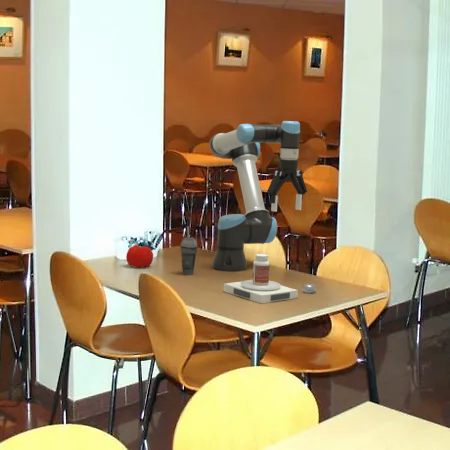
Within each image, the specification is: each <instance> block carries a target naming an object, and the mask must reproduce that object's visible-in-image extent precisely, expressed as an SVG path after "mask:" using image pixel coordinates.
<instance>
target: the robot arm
mask: <svg viewBox="0 0 450 450" xmlns="http://www.w3.org/2000/svg"><path fill="white" fill-rule="evenodd" d="M300 135H301V124H300V122H299V121H293V120H291V121H290V120H283V121H282V122H281V124H255V123H241V124H239V125H238V126H237V128H236V129H234V130H231V131H229V132H226V133H225V132H220V133H216V134H214V135H213V136H212V137H211V138H210V140H209V145H208V146H209V151H210V152H211V153H212V154H213V155H214V156H215V157H216V158H220V159H222V160H223V159H225V160H232V161H231V162H232V165H233V166H234V167H236V169H237V174H238V179H239V184H240V189H241V194H242V199H243V204H244V208H245V209H244V210H245V213H244V214H243V213H236V214H235V213H229V214H225V215H222V216H220V217H219V219H218V222H217V223H218V224H217V243H216V252H215V253H214V254H215V255H214V257H213V261H212V264H211V265H212V268H213V269H215V270H219V271H228V272H238V271H239V272H240V271H245V270H247V268H248V267H247V266H248V262H247V259H246V255H245V250H244V248H245V247H244V245H248V244H249V245H256V244H261V245H263V244H264V245H265V244H271V243H272V242H273V241H274V240H275V238H276V236H277V234H278V233H277V232H278V222H277V220H276V218H275V217H273V216H271V215H270V211H271V212H278V199H279V196H278V195H277V194H278V193H279V191H280V190H281V189H282V186H284V184H286V183H292V185H293V187H294V189H295V191H296V192H297V193H296V194H295V210H297V211H302V203H303V199H304V195H305V194H307V192H308V189H307V186H306V182H305V180H304V176H303V171H302V170H297V169H298V168H299V161H298V159H299V151H300V149H299V147H300V139H301V138H300ZM261 143H262V144H264V143H265V144H280V150H279V151H280V152H279V158H280V159H279V169H280V171H279V170H274V171H273V177H272V179H271V181H270V183H269V186H268V188H267V191H266V193H267V194H269V196H270V203H271V204H270V205H271V210H270V211H269V210H267V209H266V207H265V203H264V198H263V194H262V193H263V192H262V189H261V185H260V180H259V175H258V171H257V165H256V163H257V162H258V161H259V160H258V159H259V157H260V155H261Z"/></svg>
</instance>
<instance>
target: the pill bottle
mask: <svg viewBox="0 0 450 450" xmlns="http://www.w3.org/2000/svg"><path fill="white" fill-rule="evenodd" d="M268 259H269V255H268V254H264V253H257V254H255V260H254V261H253V263H252V264H253V267H252V268H253V269H252V270H253V271H252V280H253V284H256V285H267V284H269V281H270V261H269V260H268Z"/></svg>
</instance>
